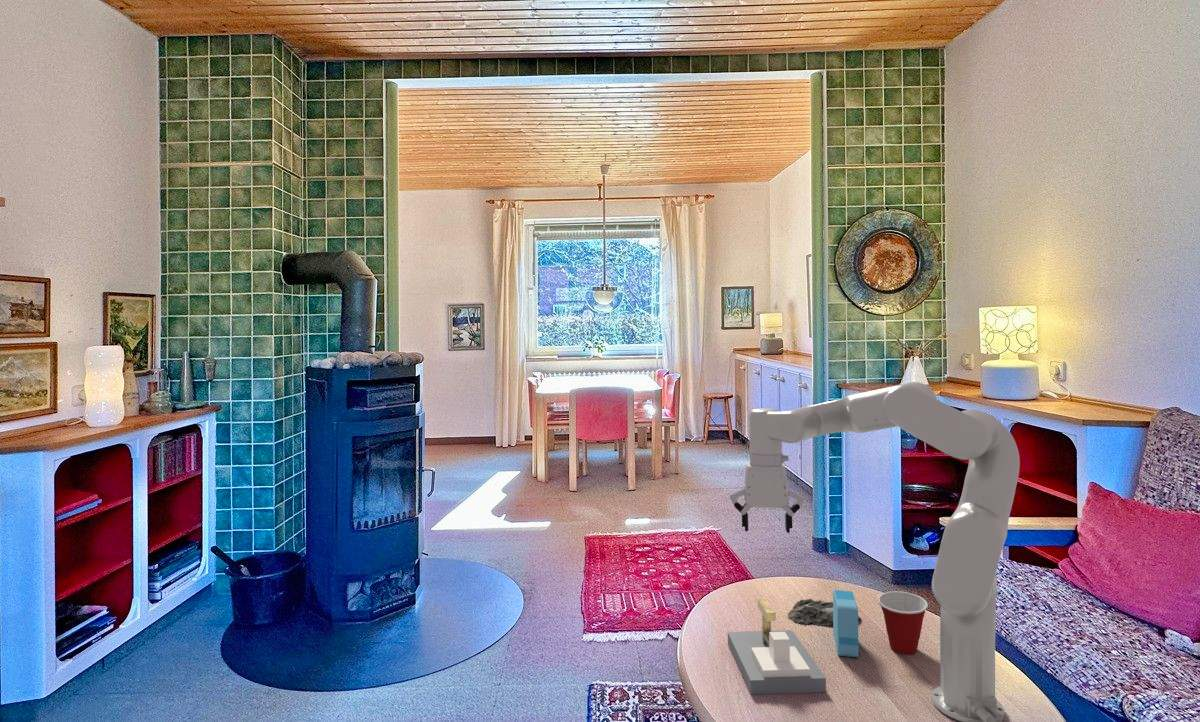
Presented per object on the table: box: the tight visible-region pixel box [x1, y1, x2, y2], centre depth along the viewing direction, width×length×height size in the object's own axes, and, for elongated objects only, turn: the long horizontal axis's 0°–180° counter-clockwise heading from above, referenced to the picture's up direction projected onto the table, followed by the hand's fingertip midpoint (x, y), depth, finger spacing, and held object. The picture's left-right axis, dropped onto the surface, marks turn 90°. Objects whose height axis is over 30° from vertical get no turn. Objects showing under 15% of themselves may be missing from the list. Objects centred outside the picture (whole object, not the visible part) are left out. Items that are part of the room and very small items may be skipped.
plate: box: [727, 629, 827, 695], centre depth 143 cm, size 22×16×3 cm
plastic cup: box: [877, 590, 929, 656], centre depth 149 cm, size 11×11×12 cm
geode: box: [787, 598, 862, 627], centre depth 169 cm, size 19×4×15 cm
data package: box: [832, 589, 860, 658], centre depth 151 cm, size 12×4×12 cm, turn 165°
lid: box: [751, 632, 810, 677], centre depth 138 cm, size 10×10×6 cm
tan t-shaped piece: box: [757, 597, 777, 646], centre depth 146 cm, size 11×2×9 cm, turn 1°
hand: (766, 530), depth 150 cm, fingers open, 9 cm apart
